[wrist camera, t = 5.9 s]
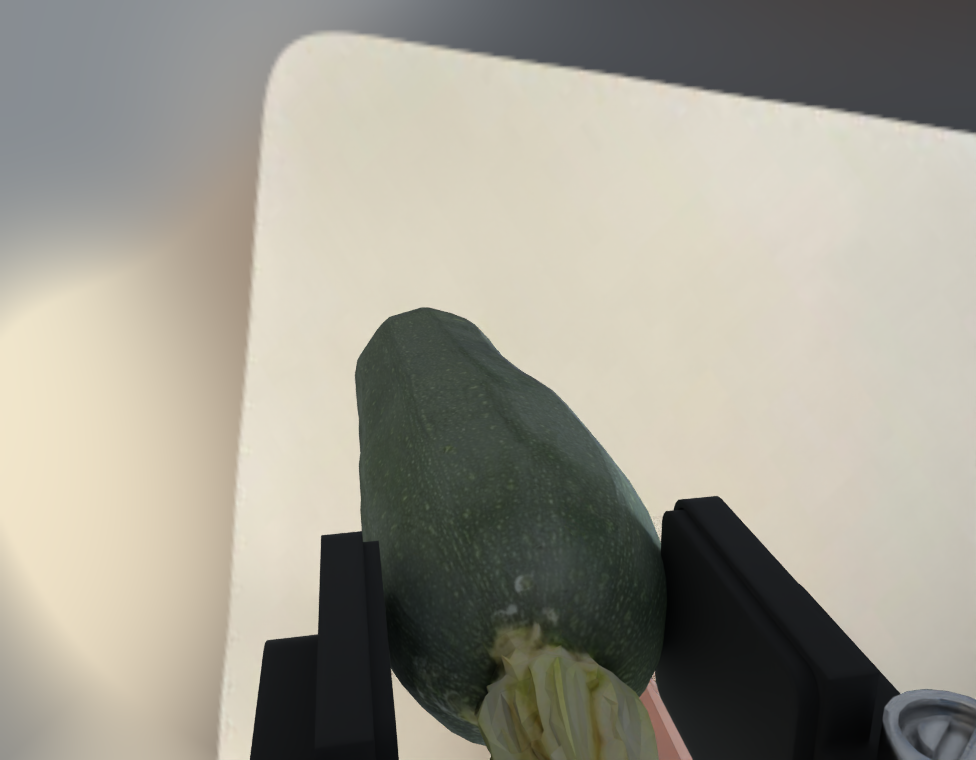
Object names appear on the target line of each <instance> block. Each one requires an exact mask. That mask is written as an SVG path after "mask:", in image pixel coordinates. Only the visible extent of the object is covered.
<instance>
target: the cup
mask: <svg viewBox="0 0 976 760" xmlns="http://www.w3.org/2000/svg"><path fill="white" fill-rule="evenodd" d="M639 698H640V700H641V701H642V703H643V705H644V706H645V708H646V709H647V711H648V714H649V717H650V720H651V723H652V726H653V729H654V732H655V737H656V743H657V750H658V757H659V760H693V759H692V757H691V755H690V753H689V752H688V750H687V748H686V746H685V744H684V742H683V740H682V738H681V736H680V734H679V732H678V730H677V728H676V727H675V725H674V723H673V721H672V719H671V717H670V715H669V713H668V711H667V709H666V707H665V705H664V703H663V702H662V700H661V697H660V695H659V692H658V688H657V684H656V683H655V681H654V680H653V679H652V678H651V679H650V682H649V684H648V686H647V688H646V690H645V691H644V692H643V694H642V695H641V696H640V697H639Z"/></svg>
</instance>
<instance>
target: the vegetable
mask: <svg viewBox="0 0 976 760" xmlns="http://www.w3.org/2000/svg"><path fill="white" fill-rule="evenodd" d="M355 382H356V396H357V407H358V415H359V440H360V452H361V453H360V461H359V476H360V491H361V509H360V510H361V524H362V536H363V542H368V541H378V540H379V548H380V559H381V569H382V580H383V591H384V602H385V612H386V623H387V634H388V645H389V656H390V666H391V669H392V670H393V672H394V674H395V675H396V677H397V678H398V680H399V681H400V682H401V684H402V685H403V686H404V687H405V688H406V690H407V691H408V692H409V693H410V694H411V695H412V696H413V697H414V699H415V700H416V701H417V702H418V703H419V704H420V705H421V706H422V707H423V708H424V709H425V710H426V711H427V712H428V713H429V714H431V715H432V716H433V717H434V718H435V719H437V720H438V721H439V722H440V723H441V724H443V725H444V726H445V727H446V728H447V729H449V730H450V731H451V732H453V733H455V734H457V735H459V736H461V737H463V738H465V739H466V740H468V741H470V742H472V743H476V744H481V745H485V746H487V749H488V750H489V752H490V754H491V758H490V760H659V757H658V750H657V743H656V737H655V732H654V729H653V726H652V723H651V720H650V717H649V714H648V711H647V709H646V708H645V706H644V705H643V703H642V701H641V700H640V698H639V697H640V696H641V695H642V694H643V692H644V691H645V690H646V688H647V686H648V684H649V682H650V679H651V677H652V675H653V673H654V671H655V669H656V667H657V665H658V663H659V660H660V655H661V651H662V647H663V641H664V630H665V620H666V610H667V587H666V575H665V569H664V564H663V561H662V557H661V542H660V540H659V537H658V535H657V532H656V530H655V527H654V525H653V523H652V520H651V518H650V515H649V513H648V511H647V509H646V507H645V506H644V504H643V503H642V501H641V499H640V498H639V496H638V494H637V493H636V491H635V490H634V488H633V486H632V485H631V483H630V481H629V480H628V479H627V477H626V476H625V475H624V474H623V472H622V471H621V470H620V469H619V467H618V466H617V465H616V463H615V462H614V461H613V460H612V458H611V457H610V456H609V454H608V453H607V452H606V450H605V449H604V448H603V447H602V445H601V444H600V443H599V442H598V441H597V440H596V438H595V437H594V436H593V435H592V434H591V432H590V431H589V430H588V429H587V428H586V427H585V425H584V424H583V423H582V422H581V421H580V419H579V418H578V417H577V416H576V415H575V414H574V412H573V411H572V410H571V409H570V408H569V407H568V405H567V404H566V403H565V402H564V401H563V400H562V399H561V398H560V397H559V396H558V395H557V394H556V393H555V392H554V391H553V390H551V389H550V388H548V387H547V386H545V385H544V384H542V383H540V382H539V381H537V380H536V379H534V378H533V377H531V376H529V375H527V374H526V373H524V372H523V371H521V370H520V369H518V368H517V367H516V366H514V365H513V364H512V363H510V362H509V361H508V360H507V359H505V358H504V357H503V356H502V355H501V354H500V352H499V351H498V350H497V349H496V348H495V347H494V345H493V344H492V343H491V341H490V340H489V339H488V338H487V337H486V336H485V335H484V334H483V333H482V331H481V330H480V329H479V328H478V327H477V326H476V325H475V324H473V323H472V322H470V321H468V320H467V319H465V318H462V317H460V316H457V315H454V314H452V313H448V312H444V311H440V310H436V309H432V308H418V309H415V310H412V311H408V312H405V313H402V314H398V315H395V316H391V317H389V318H388V319H387V320H386V321H384V322H383V324H382V325H381V326H380V327H379V328H378V329H377V331H376V332H375V334H374V335H373V337H372V338H371V340H370V341H369V343H368V344H367V346H366V347H365V349H364V350H363V352H362V353H361V355H360V357H359V358H358V360H357V366H356V372H355Z"/></svg>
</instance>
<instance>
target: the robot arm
mask: <svg viewBox="0 0 976 760" xmlns="http://www.w3.org/2000/svg"><path fill="white" fill-rule="evenodd" d="M661 557H662V561H663V564H664V569H665V575H666V587H667V610H666V620H665V630H664V641H663V647H662V651H661V655H660V660H659V663H658V665H657V667H656V669H655V676H656V684H657V688H658V692H659V695H660V697H661V700H662V702H663V703H664V705H665V707H666V709H667V711H668V713H669V715H670V717H671V719H672V721H673V723H674V725H675V727H676V728H677V730H678V732H679V734H680V736H681V738H682V740H683V742H684V744H685V746H686V748H687V750H688V752H689V753H690V755H691V757H692V759H693V760H976V700H975V699H973V698H971V697H968V696H964V695H960V694H957V693H953V692H949V691H942V690H931V689H922V690H913V691H907V692H904V693H902V694H900V693H899V692H898V691H897V690H896V688H895V687H894V686H893V685H892V684H891V683H890V682H889V681H888V680H887V679H886V677H885V676H884V675H883V674H882V673H881V672H880V671H879V670H878V669H877V668H876V666H875V665H874V664H873V663H872V662H871V661H870V660H869V659H868V658H867V657H866V656H865V654H864V653H863V652H862V651H861V650H860V649H859V648H858V647H857V646H856V645H855V643H854V642H853V641H852V640H851V639H850V638H849V637H848V636H847V635H846V634H845V632H844V631H843V630H842V629H841V628H840V627H839V626H838V625H837V624H836V623H835V621H834V620H833V619H832V618H831V617H830V616H829V615H828V614H827V613H826V612H825V610H824V609H823V608H822V607H821V606H820V605H819V604H818V603H817V602H816V601H815V600H814V598H813V597H812V596H811V595H810V594H809V593H808V592H807V591H806V590H805V589H804V587H802V586H801V585H800V584H799V583H797V581H796V580H795V579H794V578H793V577H792V576H791V575H790V574H789V573H788V572H787V570H786V569H785V568H784V567H783V566H782V565H781V564H780V563H779V562H778V561H777V559H776V558H775V557H774V556H773V555H772V554H771V553H770V552H769V551H768V550H767V548H766V547H765V546H764V545H763V544H762V543H761V542H760V541H759V540H758V539H757V537H756V536H755V535H754V534H753V533H752V532H751V531H750V530H749V529H748V527H747V526H746V525H745V524H744V523H743V522H742V521H741V520H740V519H739V518H738V516H737V515H736V514H735V513H734V512H733V511H732V510H731V509H730V508H729V507H728V505H727V504H726V503H725V502H724V501H723V500H722V499H721V498H720V497H718V496H712V497H702V498H692V499H682V500H678V501H677V502H676V504H675V507H674V511H666V512H665V513H664V515H663V520H662V535H661ZM250 760H399V757H398V744H397V732H396V720H395V710H394V699H393V688H392V677H391V666H390V656H389V645H388V634H387V623H386V612H385V602H384V591H383V580H382V569H381V559H380V548H379V540H378V541H368V542H363V536H362V531H360V532H350V533H340V534H330V535H322V536H321V559H320V591H319V622H318V635H309V636H301V637H292V638H283V639H275V640H267V641H266V642H265V646H264V651H263V659H262V667H261V675H260V683H259V691H258V699H257V707H256V715H255V723H254V731H253V739H252V747H251V755H250Z"/></svg>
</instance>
